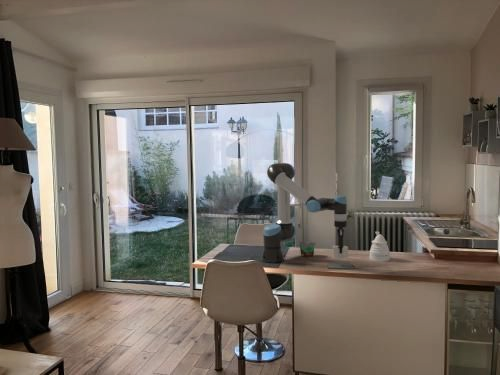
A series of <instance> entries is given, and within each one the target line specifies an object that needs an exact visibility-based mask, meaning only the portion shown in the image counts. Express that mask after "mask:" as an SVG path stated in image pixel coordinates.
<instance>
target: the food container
mask: <svg viewBox="0 0 500 375" xmlns="http://www.w3.org/2000/svg"><path fill="white" fill-rule="evenodd" d="M298 245H299V250H300V256H301V257H303V258H311V257H314V255H315V246H316V241H315V240H313V241H305V242H301V241H299V242H298Z"/></svg>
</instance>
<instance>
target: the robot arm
mask: <svg viewBox="0 0 500 375" xmlns="http://www.w3.org/2000/svg"><path fill="white" fill-rule="evenodd" d="M266 175H267V177H268V179H269V180H270V181H271V182H272V183H273V184H275V185H276V186H277V187H276V188H277V220H276V221H275V223H272V224H267V225H265V226H264V228H263V250H262V252H261V253H262V254H261V257H260V259H261V260H262V261H261V262H263V261H264V263H268V262H271V263H272V264H273V263H274V264H275V263H276V262H277V263H281V262H283V261H285V260H284V259H285V258H284V254H283V250H282V243H285V242H290V241H291V240H293V239H294V238H295V237H296V233H297V232H296V231H297V229H296V227H295V225H293V222H294V221H292V220H291V196H293V197H294V198H295V199H297V200H298V201H300V203H301V204H303V205H304V206H305V207H306V210H307V211H308V212H310V213H319V212H323V211H333V213H334V214H333V217H334V218H333V220H334V222H333V225H334V227H335V228H337V229H336V232H337V246H339V247H338V258H343V246H344V233H345V230H344V229H343V228H346V227H347V225H348V224H347V218H348V214H347V210H348V209H347V207H348V206H347V205H348V204H347V203H348V202H347V201H348V200H347V196H346V195H334V198H328V197H318V198H316V197H315V196H314V195H312V194H311V193H309V192H308V191H307V190H305V189H304V188H303V187H302V186H300V185H299V184H297V183H296V182H295V181H294V180H293V179H294V178H295V175H296V170H295V167H294V166H293V164H291V163H286V162H283V163H282V162H280V163H278V162H277V163H272V164H270V165H269V166H268V167H267V171H266ZM271 263H270V264H271Z"/></svg>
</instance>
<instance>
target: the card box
mask: <svg viewBox="0 0 500 375" xmlns="http://www.w3.org/2000/svg"><path fill="white" fill-rule="evenodd" d="M338 247H339V246H338V245H332V258H333V259H338V260H339V259H343V260H344V259H345V260H349V246H348V245H343V258H338Z"/></svg>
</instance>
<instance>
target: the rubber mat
mask: <svg viewBox="0 0 500 375" xmlns="http://www.w3.org/2000/svg"><path fill="white" fill-rule="evenodd" d="M327 268H328V269H332V270H333V269H334V270H354V266H353V263H352V262H327Z"/></svg>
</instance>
